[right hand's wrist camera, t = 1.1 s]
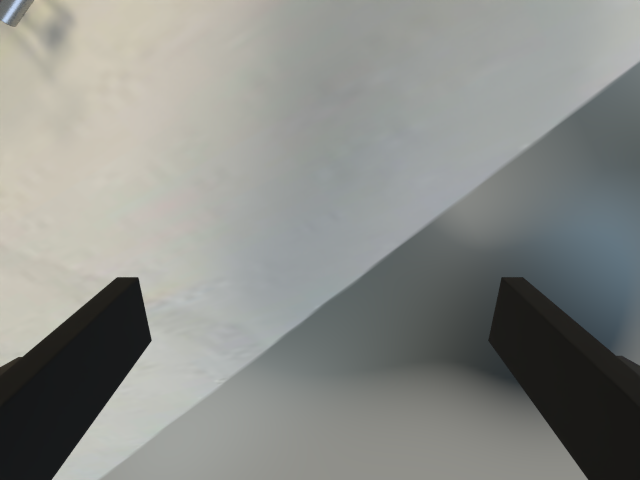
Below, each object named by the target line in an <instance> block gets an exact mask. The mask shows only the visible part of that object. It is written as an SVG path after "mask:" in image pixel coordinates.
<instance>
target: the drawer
mask: <svg viewBox="0 0 640 480" xmlns="http://www.w3.org/2000/svg"><path fill="white" fill-rule="evenodd" d="M33 1H34V0H0V20H1V21H3V22H4V23H6V24H8V25H10V26H12V27H16V26H17V24H18V23H19V21H20V20H21V19H22V17H23V16H24V14H25V13H26V11H27V10H28V8H29V7H30V5H31V4H32V3H33Z"/></svg>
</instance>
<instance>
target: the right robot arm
mask: <svg viewBox="0 0 640 480" xmlns="http://www.w3.org/2000/svg"><path fill="white" fill-rule="evenodd" d="M151 341H152V340H151V335H150V331H149V326H148V321H147V316H146V312H145V307H144V302H143V297H142V293H141V288H140V283H139V278H138V277H117V278H116V279H115V280H113V281H112V282H111V283H110V284H109V285H107V286H106V287H105V288H104V289H103V290H102V291H100V292H99V293H98V294H97V295H96V296H94V297H93V298H92V299H91V300H90V301H88V302H87V303H86V304H85V305H84V306H83V307H81V308H80V309H79V310H78V311H77V312H75V313H74V314H73V315H72V316H71V317H69V318H68V319H67V320H66V321H65V322H64V323H62V324H61V325H60V326H59V327H58V328H56V329H55V330H54V331H53V332H52V333H50V334H49V335H48V336H47V337H46V338H45V339H43V340H42V341H41V342H40V343H39V344H37V345H36V346H35V347H34V348H33V349H31V350H30V351H29V352H28V353H27V354H26V355H24V356H23V357H18V358H16V359H14V360H12V361H11V362H9V363H7V364H5V365H3V366H2V367H0V480H52V478H53V477H54V476H55V474H56V473H57V472H58V470H59V469H60V467H61V466H62V465H63V463H64V462H65V460H66V459H67V458H68V456H69V455H70V453H71V452H72V451H73V449H74V448H75V447H76V445H77V444H78V442H79V441H80V440H81V438H82V437H83V435H84V434H85V433H86V431H87V430H88V428H89V427H90V426H91V424H92V423H93V421H94V420H95V419H96V417H97V416H98V415H99V413H100V412H101V410H102V409H103V408H104V406H105V405H106V403H107V402H108V401H109V399H110V398H111V396H112V395H113V394H114V392H115V391H116V389H117V388H118V387H119V385H120V384H121V383H122V381H123V380H124V378H125V377H126V376H127V374H128V373H129V371H130V370H131V369H132V367H133V366H134V364H135V363H136V362H137V360H138V359H139V358H140V356H141V355H142V353H143V352H144V351H145V349H146V348H147V346H148V345H149V344H150V342H151ZM488 341H489V342H490V344H491V345H492V346H493V348H494V349H495V351H496V352H497V353H498V355H499V356H500V357H501V359H502V360H503V362H504V363H505V364H506V366H507V367H508V369H509V370H510V371H511V373H512V374H513V376H514V377H515V378H516V380H517V381H518V383H519V384H520V385H521V387H522V388H523V389H524V391H525V392H526V394H527V395H528V396H529V398H530V399H531V401H532V402H533V403H534V405H535V406H536V408H537V409H538V410H539V412H540V413H541V414H542V416H543V417H544V419H545V420H546V421H547V423H548V424H549V426H550V427H551V428H552V430H553V431H554V433H555V434H556V435H557V437H558V438H559V440H560V441H561V442H562V444H563V445H564V447H565V448H566V449H567V451H568V452H569V453H570V455H571V456H572V458H573V459H574V460H575V462H576V463H577V465H578V466H579V467H580V469H581V470H582V472H583V473H584V474H585V476H586V477H587V478H588V480H640V366H639V365H637V364H636V363H634V362H632V361H630V360H628V359H627V358H625V357H623V356H615V355H614V354H613V353H612V352H611V351H610V350H609V349H607V348H606V347H605V346H604V345H603V344H601V343H600V342H599V341H598V340H597V339H595V338H594V337H593V336H592V335H591V334H590V333H588V332H587V331H586V330H585V329H584V328H582V327H581V326H580V325H579V324H578V323H576V322H575V321H574V320H573V319H572V318H571V317H569V316H568V315H567V314H566V313H565V312H563V311H562V310H561V309H560V308H559V307H557V306H556V305H555V304H554V303H553V302H552V301H550V300H549V299H548V298H547V297H546V296H544V295H543V294H542V293H541V292H540V291H538V290H537V289H536V288H535V287H534V286H533V285H531V284H530V283H529V282H528V281H527V280H525V279H524V278H523V277H502V278H501V283H500V288H499V293H498V297H497V302H496V307H495V312H494V317H493V321H492V326H491V331H490V336H489V340H488Z"/></svg>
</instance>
